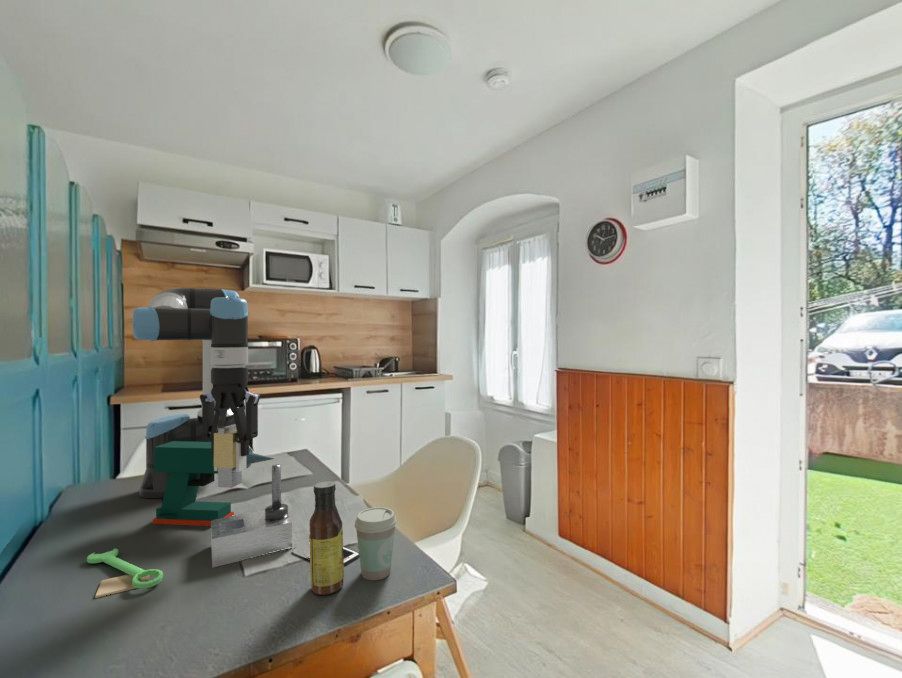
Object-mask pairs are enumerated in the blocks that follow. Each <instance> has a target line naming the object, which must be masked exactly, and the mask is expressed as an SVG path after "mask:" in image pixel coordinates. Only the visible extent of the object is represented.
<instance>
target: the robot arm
mask: <svg viewBox="0 0 902 678" xmlns="http://www.w3.org/2000/svg"><path fill="white" fill-rule="evenodd" d="M248 307H249V306H248V302H247V299H245V298H241V297H240V294H238V292H237V291H235V290H231V289H230V290H229V289H221V288H220V289H219V288H196V287H195V288H194V287H192V288H191V287H178V288H177V287H176V288H172V289H167V290H163V291H161V292H159V293H157V294H155V295H154V296H153V297H152V298H151V299H150V301H149V302H148V306H147V307H146V306H145V307H143V306H142V307H141V306H139V307H136V308H134V309H133V311H132V333H133V337H134V339H135V340H138V341H149V342H155V341H202V394H200V395H199V400H200V402H201V403H200V404H201V408H200V409H199V410H198V411H197V414H196V417H194V418H193V417H192V418H191V416H190V415H189V414H188V413H184V414H183V413H182V414H174V415H173V414H172V415H168V416H163V417H160V418H156V419H154V420H152V421H150V422H149V423H148V424H147V426H146V428H145V429H146V432H145V436H144V437H145V438H144V439H145V450H146V451H145V453H146V455H145V460H146V461H145V464H146V465H145V472H144V474H143V477H142V480H141V482H140V485H139V489H138V491H139V492H138V493H139V495H138V496H139V497H140V498H144V499H162V498H164V494H165V489H166V485H167V481H168V476H169V472H154V447H156V446H159V445H162V444H166V443H169V442H172V441H186V442H211V453H212V455H214V433H217V432H218V428H222V427H226V426H230V425H233V424H236V429H237V433H238V438H239V440H238V441H237V442H236V472H240V471H242V472H243V471H244V470H247V468H246V455H249V448H250V440H252V439H255V438H257V437H258V435H259V429H258V428H259V403H260V400H261V395H260V394H259V393H252V392H250V391H249V387H248V382H249V368H248V366H247V365H248V364H249V345H248V343H249V342H248V340H249V339H248V338H249V331H248V329H249V308H248ZM245 403H246V404H245ZM214 471H218V467H214Z"/></svg>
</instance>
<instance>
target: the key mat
mask: <svg viewBox="0 0 902 678" xmlns="http://www.w3.org/2000/svg"><path fill="white" fill-rule="evenodd" d="M133 577H134V576H131V575H129V574H125V575H119V576H115V577H110V578H107V579H102V580H101V582H100V583H99V585H98V588H97V591H96V593H95V596H94V598H95V599H99V598H102V597H105V596H106V595H107V596H110V594H111V595H114V594H118V593H122V592H126V591H127V592H128V591H131V590H134V589H137V588H135V587H133V585H132V579H133ZM150 578H151V576H150V575H148V576H146V577H142V578H141V579H138V580H137V581H140V582H147V581H150Z"/></svg>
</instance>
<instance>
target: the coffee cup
mask: <svg viewBox="0 0 902 678" xmlns="http://www.w3.org/2000/svg"><path fill="white" fill-rule="evenodd" d="M397 524H398V520H397V517H396V515H395V512H394V510H392V509H390V508H388V507H381V506H380V507H379V506H377V507H375V506H374V507H369V508H366V509H363V510H361V511H359V512H358V513H357V516H356V519H355V521H354V528H355V530H356V538H357V546H358V547H357V548H358V552H359V556H360V557H359V562H360V563H359V564H360V571H361V576H362V577H363V579H365V580H367V581H380V580H383V579H385V578H387V577H389V575H391V574H390V573H391V571H392V560H393V551H394V542H395V530H396V526H397Z"/></svg>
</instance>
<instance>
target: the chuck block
mask: <svg viewBox="0 0 902 678" xmlns="http://www.w3.org/2000/svg"><path fill="white" fill-rule="evenodd" d="M288 547H292V548H293V521H292V519H291V518H290V515H289V505H287V504H286V503H282V464H280V463H279V464H272V466H271V505H269V506H267V507H265V508H264V509H261V510H258V511H251V512H247V513H246V512H245V513H242V514H237V515H236V514H235V515H234V516H230V517H225V518H220V519H215V520H211V526H210V548H211V549H210V550H211V553H210V554H211V567H212V568H216V567H221V566H225V565H229V564H234V563H238V562H241V560H242V561H244V560H243V559H247V558H251V557H255V556H259V555H262V554H266V553H269V552H273V551H277V550H281V549H285V548H288ZM259 557H260V556H259ZM255 558H256V557H255ZM251 559H252V558H251ZM247 560H248V559H247Z"/></svg>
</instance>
